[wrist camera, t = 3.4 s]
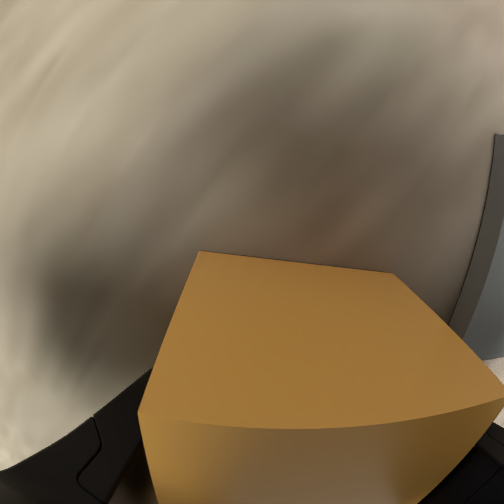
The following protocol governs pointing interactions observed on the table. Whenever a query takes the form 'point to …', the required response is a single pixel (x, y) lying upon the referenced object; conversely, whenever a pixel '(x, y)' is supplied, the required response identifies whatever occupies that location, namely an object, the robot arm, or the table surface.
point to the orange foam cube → (308, 389)
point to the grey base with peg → (486, 274)
